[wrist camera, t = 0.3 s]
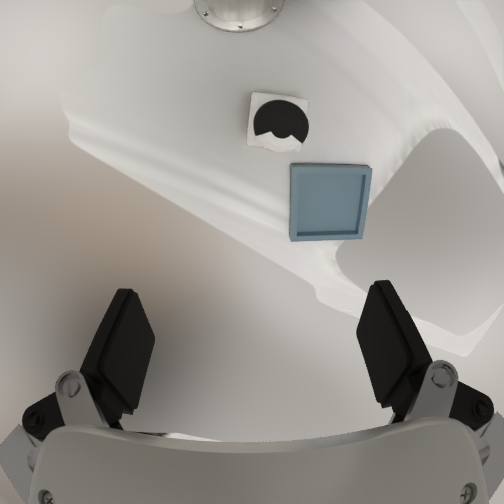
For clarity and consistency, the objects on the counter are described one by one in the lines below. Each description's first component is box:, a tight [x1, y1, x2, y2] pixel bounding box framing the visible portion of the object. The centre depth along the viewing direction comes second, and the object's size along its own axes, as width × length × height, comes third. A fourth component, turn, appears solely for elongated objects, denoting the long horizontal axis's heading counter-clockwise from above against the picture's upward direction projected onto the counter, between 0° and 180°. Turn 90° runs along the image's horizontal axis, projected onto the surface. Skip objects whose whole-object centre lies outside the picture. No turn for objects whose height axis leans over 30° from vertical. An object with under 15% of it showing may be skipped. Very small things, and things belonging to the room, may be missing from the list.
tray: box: [289, 164, 372, 242], centre depth 43 cm, size 13×13×2 cm
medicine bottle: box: [246, 92, 309, 153], centre depth 32 cm, size 7×7×12 cm
